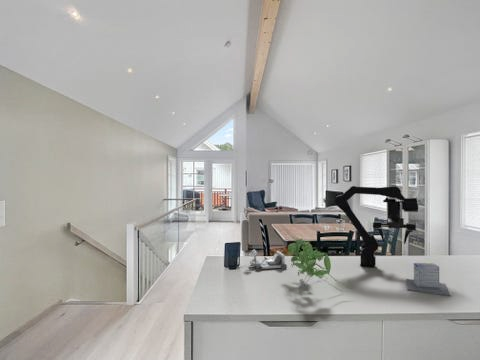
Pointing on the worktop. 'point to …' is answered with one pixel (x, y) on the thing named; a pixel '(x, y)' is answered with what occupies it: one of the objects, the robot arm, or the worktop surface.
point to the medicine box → (426, 275)
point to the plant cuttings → (309, 260)
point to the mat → (428, 288)
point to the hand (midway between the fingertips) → (393, 243)
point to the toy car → (269, 261)
